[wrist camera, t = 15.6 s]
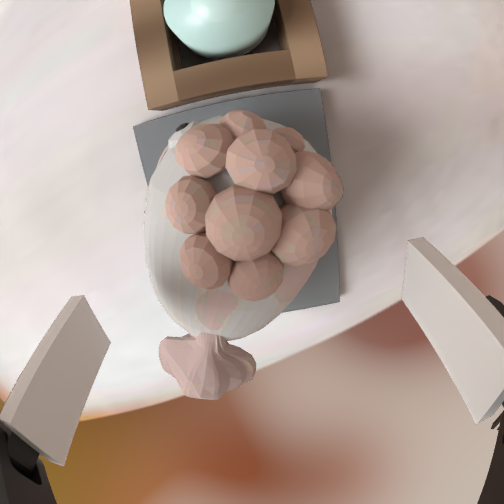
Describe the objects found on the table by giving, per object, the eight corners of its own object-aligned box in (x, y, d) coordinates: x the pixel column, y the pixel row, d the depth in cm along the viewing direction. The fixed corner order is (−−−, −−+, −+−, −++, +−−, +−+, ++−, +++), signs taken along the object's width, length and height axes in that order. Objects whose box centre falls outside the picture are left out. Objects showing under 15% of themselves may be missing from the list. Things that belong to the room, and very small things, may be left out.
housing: (142, -10, 12) (127, -25, 9) (285, -38, 11) (291, -58, 9) (163, 110, 16) (148, 109, 14) (315, 82, 16) (327, 76, 13)
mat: (137, 125, 17) (132, 126, 16) (316, 89, 16) (319, 88, 15) (195, 318, 24) (194, 324, 23) (337, 296, 23) (339, 301, 22)
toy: (338, 144, 17) (424, 177, 8) (266, 328, 23) (275, 434, 14) (182, 99, 15) (111, 83, 7) (145, 299, 22) (102, 398, 13)
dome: (174, 0, 12) (155, -26, 8) (260, -17, 12) (263, -48, 8) (187, 69, 15) (169, 56, 11) (276, 53, 14) (285, 34, 10)
